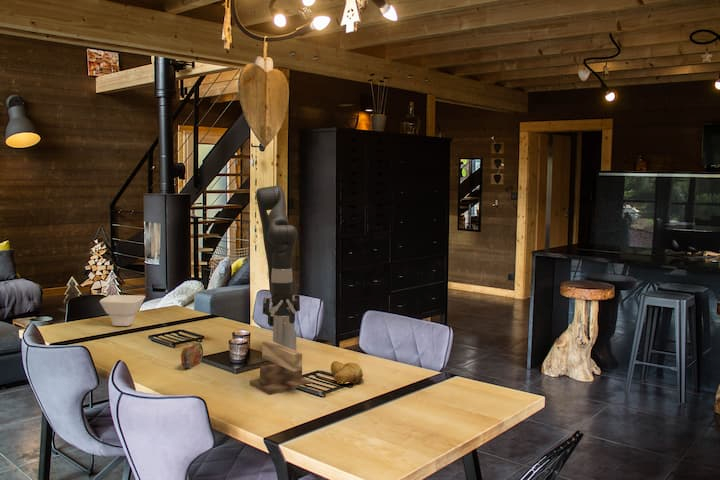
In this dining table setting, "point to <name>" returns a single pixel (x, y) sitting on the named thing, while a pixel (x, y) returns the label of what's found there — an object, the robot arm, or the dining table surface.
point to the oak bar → (282, 355)
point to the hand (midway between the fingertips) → (281, 324)
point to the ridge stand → (278, 379)
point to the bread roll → (346, 372)
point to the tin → (192, 355)
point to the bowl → (122, 308)
